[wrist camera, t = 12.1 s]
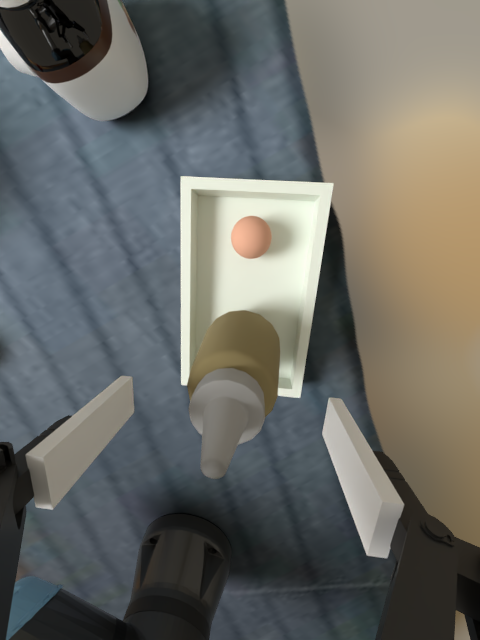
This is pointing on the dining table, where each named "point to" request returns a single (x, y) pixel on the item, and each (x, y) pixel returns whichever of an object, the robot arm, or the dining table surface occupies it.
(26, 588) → the robot arm
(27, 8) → the spread jar
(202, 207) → the tray
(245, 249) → the egg
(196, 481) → the dining table surface
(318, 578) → the dining table surface
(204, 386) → the squeeze bottle
